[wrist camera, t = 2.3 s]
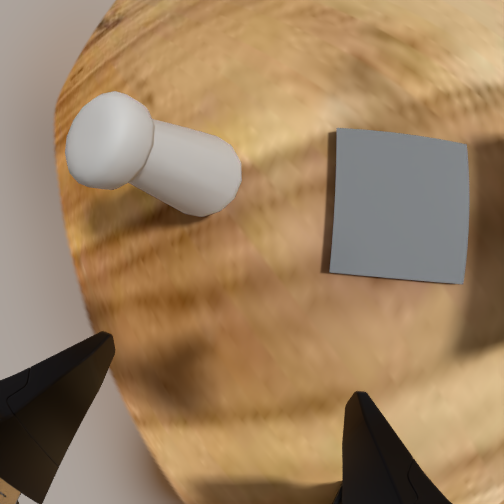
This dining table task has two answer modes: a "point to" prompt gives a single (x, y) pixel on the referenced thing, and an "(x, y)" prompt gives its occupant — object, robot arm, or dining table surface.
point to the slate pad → (400, 207)
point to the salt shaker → (151, 156)
